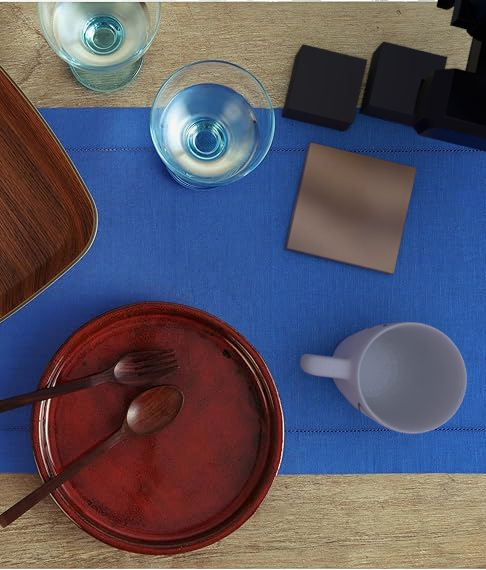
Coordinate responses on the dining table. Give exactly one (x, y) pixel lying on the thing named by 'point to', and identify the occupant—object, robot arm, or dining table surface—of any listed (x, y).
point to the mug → (397, 375)
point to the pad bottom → (397, 81)
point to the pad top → (324, 88)
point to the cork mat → (350, 208)
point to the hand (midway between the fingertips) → (430, 59)
